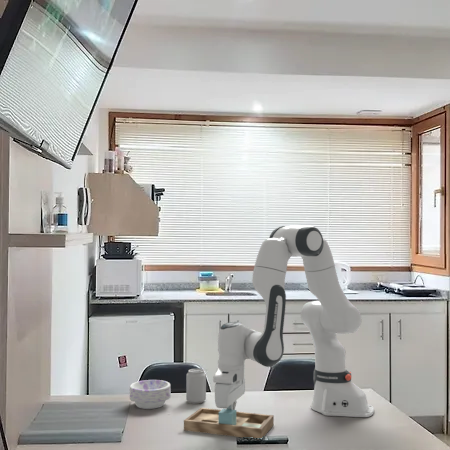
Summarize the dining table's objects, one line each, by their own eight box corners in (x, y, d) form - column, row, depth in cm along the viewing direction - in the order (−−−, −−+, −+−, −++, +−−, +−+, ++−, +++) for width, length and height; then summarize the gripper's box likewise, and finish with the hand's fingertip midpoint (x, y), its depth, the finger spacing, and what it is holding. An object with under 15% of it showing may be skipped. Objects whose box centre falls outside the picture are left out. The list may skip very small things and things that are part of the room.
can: (203, 404, 210) (203, 372, 210) (184, 403, 211) (184, 371, 212) (207, 399, 217) (208, 368, 218) (189, 398, 219) (189, 367, 219)
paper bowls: (130, 413, 199) (131, 390, 200) (128, 401, 214) (128, 380, 214) (173, 410, 203) (173, 388, 203) (167, 399, 218) (167, 378, 218)
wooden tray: (273, 425, 186) (273, 415, 186) (261, 439, 172) (261, 429, 172) (201, 417, 195) (201, 407, 195) (183, 430, 181) (183, 420, 181)
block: (236, 424, 181) (236, 410, 181) (231, 428, 176) (231, 414, 177) (223, 422, 182) (223, 408, 182) (218, 426, 178) (218, 412, 178)
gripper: (232, 365, 195) (232, 405, 194) (211, 378, 175) (211, 422, 175) (249, 366, 192) (249, 407, 192) (230, 379, 173) (230, 425, 173)
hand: (231, 414), depth 183 cm, fingers closed
